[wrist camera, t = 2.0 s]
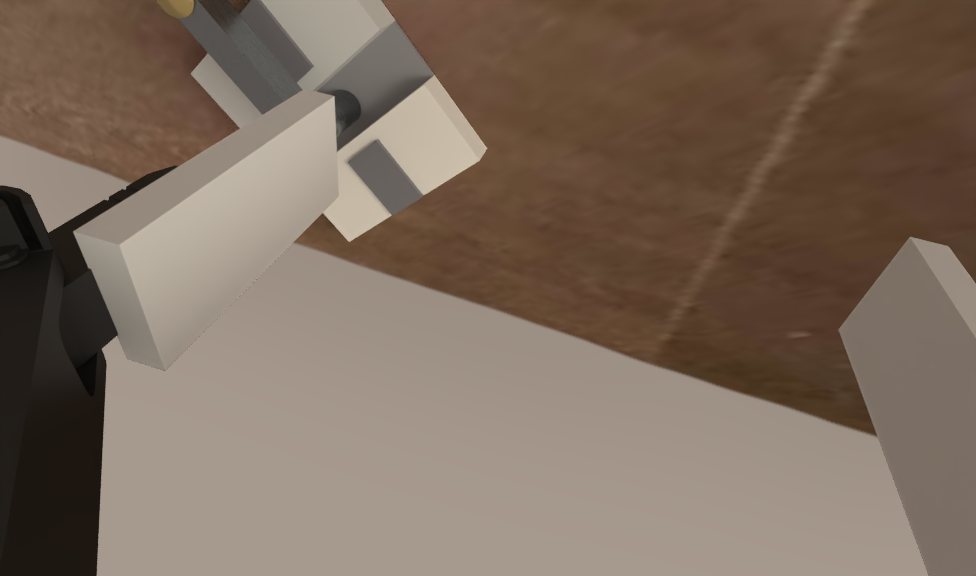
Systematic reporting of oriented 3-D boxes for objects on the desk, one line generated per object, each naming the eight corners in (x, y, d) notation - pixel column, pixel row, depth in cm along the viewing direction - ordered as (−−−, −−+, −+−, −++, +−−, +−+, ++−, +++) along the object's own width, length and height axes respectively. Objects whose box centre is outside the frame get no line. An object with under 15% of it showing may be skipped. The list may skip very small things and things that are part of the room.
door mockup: (213, 63, 40) (187, 75, 38) (330, -71, 32) (306, -66, 30) (359, 229, 46) (344, 247, 44) (487, 148, 38) (476, 165, 36)
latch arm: (367, 112, 39) (324, 147, 34) (346, 129, 40) (301, 166, 35) (236, -54, 34) (164, -40, 29) (217, -29, 35) (144, -12, 31)
